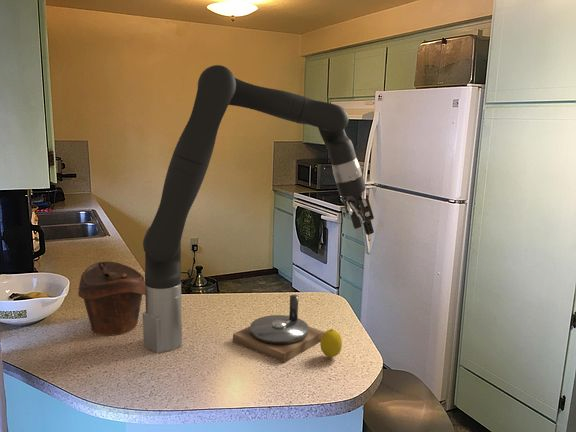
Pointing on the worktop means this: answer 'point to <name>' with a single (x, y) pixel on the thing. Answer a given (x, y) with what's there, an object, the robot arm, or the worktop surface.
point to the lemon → (331, 343)
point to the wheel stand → (278, 350)
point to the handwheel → (280, 327)
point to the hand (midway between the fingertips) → (363, 230)
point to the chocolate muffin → (112, 297)
